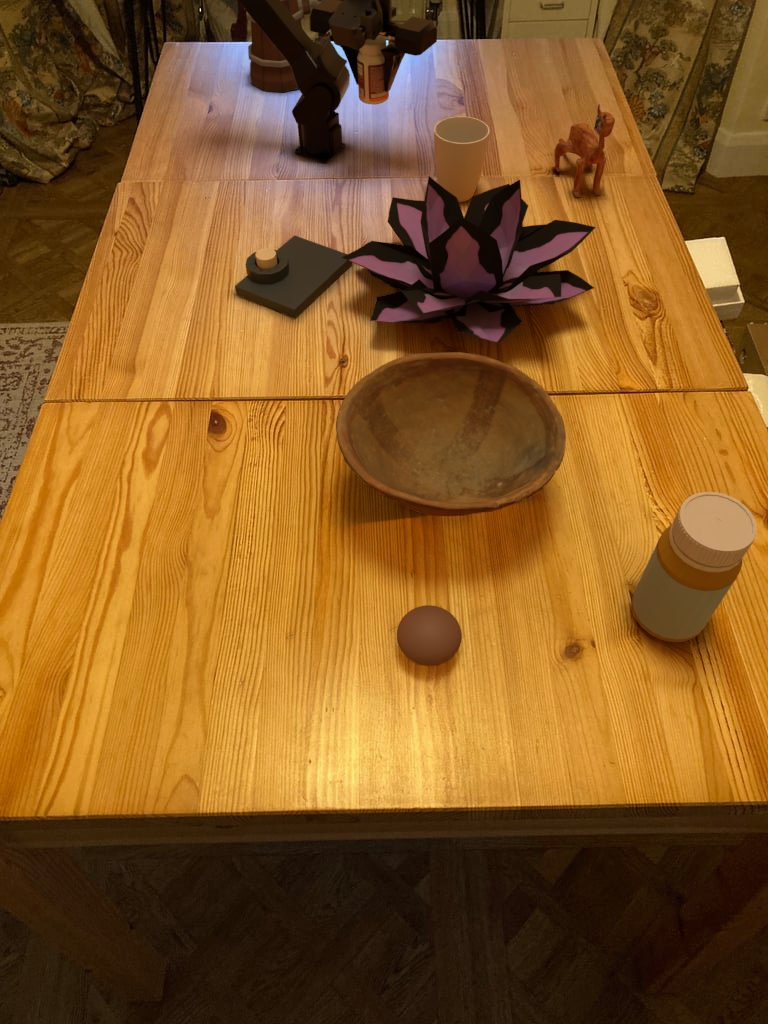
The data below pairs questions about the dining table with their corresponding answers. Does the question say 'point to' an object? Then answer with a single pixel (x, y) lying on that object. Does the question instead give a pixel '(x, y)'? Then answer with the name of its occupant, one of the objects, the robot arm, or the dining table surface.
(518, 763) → the dining table surface
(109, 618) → the dining table surface
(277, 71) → the mug
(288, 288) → the dark flat slab piece
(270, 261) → the button
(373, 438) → the bowl
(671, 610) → the bottle
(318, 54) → the robot arm
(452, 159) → the cup
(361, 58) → the pill bottle
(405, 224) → the decorative flower
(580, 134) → the orange animal figurine
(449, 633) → the brown flattened ball
